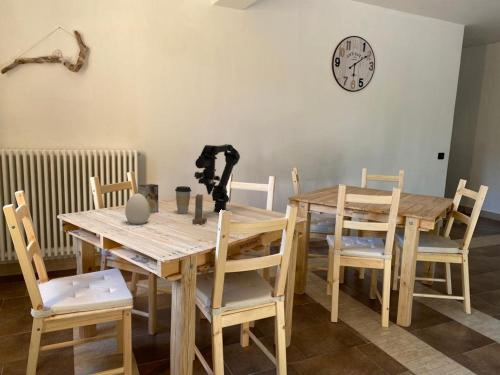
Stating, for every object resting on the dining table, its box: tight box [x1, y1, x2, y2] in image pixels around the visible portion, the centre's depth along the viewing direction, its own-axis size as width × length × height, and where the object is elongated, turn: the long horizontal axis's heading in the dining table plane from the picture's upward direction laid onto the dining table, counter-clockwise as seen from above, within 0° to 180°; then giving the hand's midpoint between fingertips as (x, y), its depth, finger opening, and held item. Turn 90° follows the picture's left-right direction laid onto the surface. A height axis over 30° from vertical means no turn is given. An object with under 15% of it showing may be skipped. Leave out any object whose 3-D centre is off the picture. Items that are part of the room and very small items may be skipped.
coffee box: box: [138, 183, 159, 214], centre depth 218 cm, size 9×6×16 cm
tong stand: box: [192, 195, 208, 226], centre depth 198 cm, size 7×5×15 cm
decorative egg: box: [124, 193, 151, 225], centre depth 194 cm, size 12×12×15 cm
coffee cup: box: [174, 186, 192, 215], centre depth 221 cm, size 9×9×15 cm
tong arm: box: [195, 193, 204, 218], centre depth 197 cm, size 1×3×12 cm, turn 74°
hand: (209, 194), depth 217 cm, fingers closed
